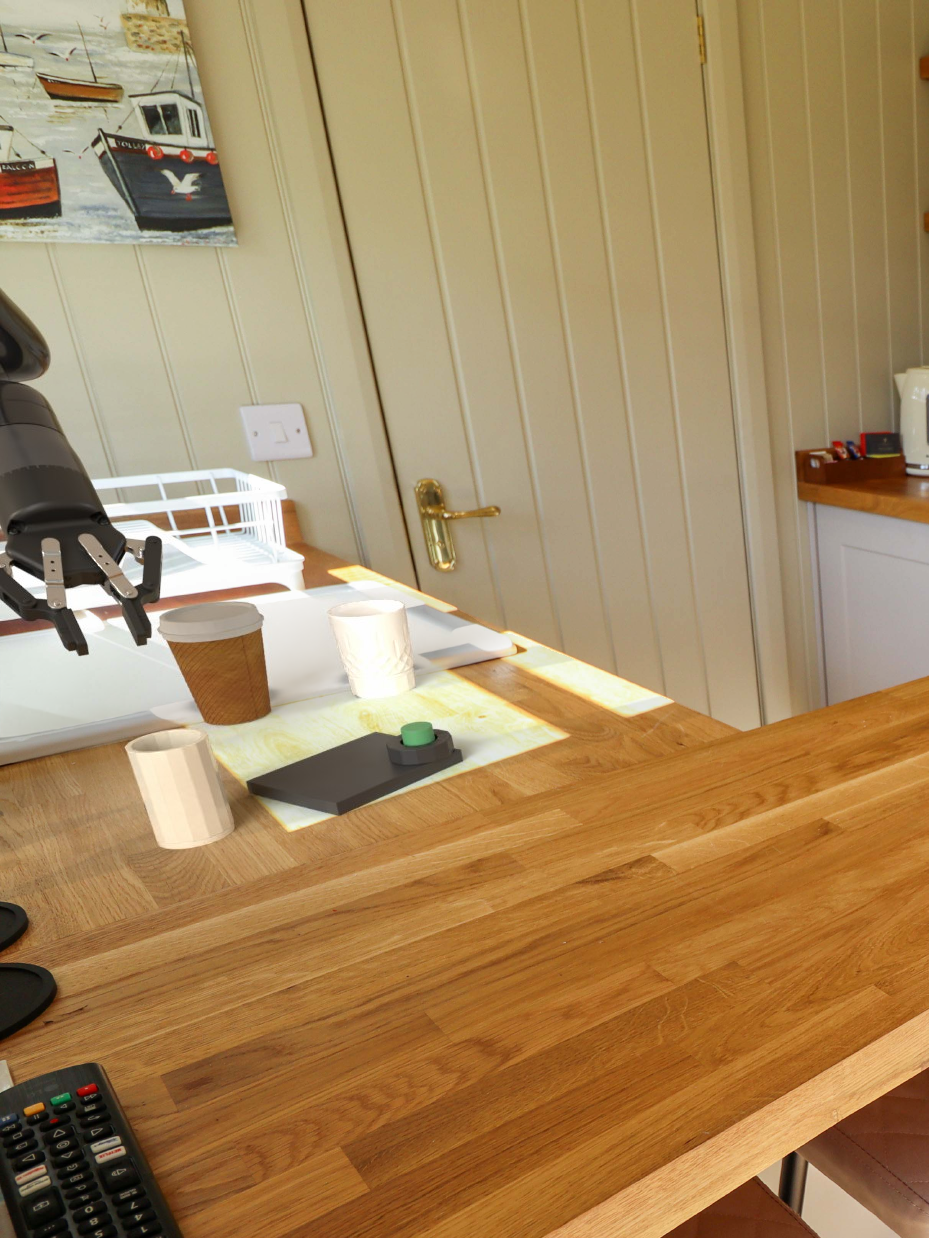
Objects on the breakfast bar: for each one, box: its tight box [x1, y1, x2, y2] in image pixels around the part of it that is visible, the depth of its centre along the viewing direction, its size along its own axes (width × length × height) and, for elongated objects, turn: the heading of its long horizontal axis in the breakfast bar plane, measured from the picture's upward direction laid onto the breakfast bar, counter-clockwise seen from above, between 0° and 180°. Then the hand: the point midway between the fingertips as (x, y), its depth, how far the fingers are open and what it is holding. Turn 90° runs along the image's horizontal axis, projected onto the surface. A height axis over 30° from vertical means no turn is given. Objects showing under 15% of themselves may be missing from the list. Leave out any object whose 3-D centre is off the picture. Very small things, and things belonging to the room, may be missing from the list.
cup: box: [124, 727, 236, 850], centre depth 94 cm, size 6×6×9 cm
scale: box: [245, 728, 464, 817], centre depth 107 cm, size 14×12×3 cm
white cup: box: [327, 599, 417, 699], centre depth 129 cm, size 8×8×10 cm
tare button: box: [400, 721, 435, 746], centre depth 109 cm, size 3×3×2 cm
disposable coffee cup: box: [156, 600, 272, 726], centre depth 120 cm, size 10×10×12 cm
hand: (113, 645), depth 96 cm, fingers open, 3 cm apart
